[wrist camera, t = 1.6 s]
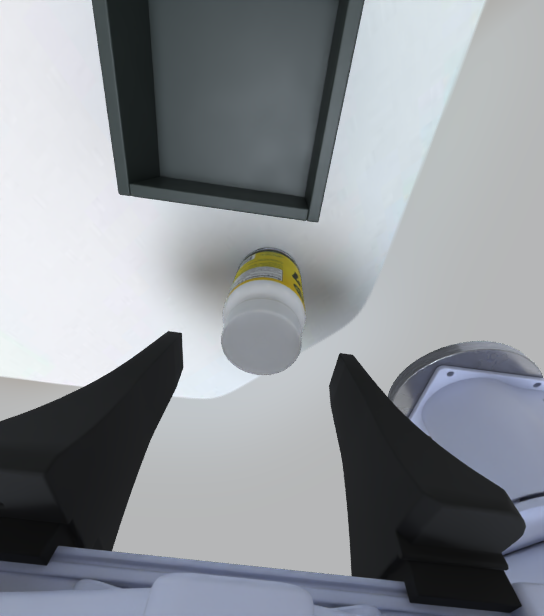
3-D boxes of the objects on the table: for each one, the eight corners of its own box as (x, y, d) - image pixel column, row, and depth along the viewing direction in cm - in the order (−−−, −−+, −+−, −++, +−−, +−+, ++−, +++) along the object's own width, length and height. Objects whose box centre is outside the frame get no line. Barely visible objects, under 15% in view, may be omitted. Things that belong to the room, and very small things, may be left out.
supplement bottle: (300, 304, 22) (307, 382, 15) (240, 305, 22) (219, 382, 15) (301, 245, 20) (311, 303, 12) (234, 246, 20) (205, 304, 13)
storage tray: (353, -18, 13) (383, -90, 9) (311, 206, 18) (318, 222, 14) (136, -54, 13) (70, -145, 9) (155, 184, 18) (118, 194, 14)
